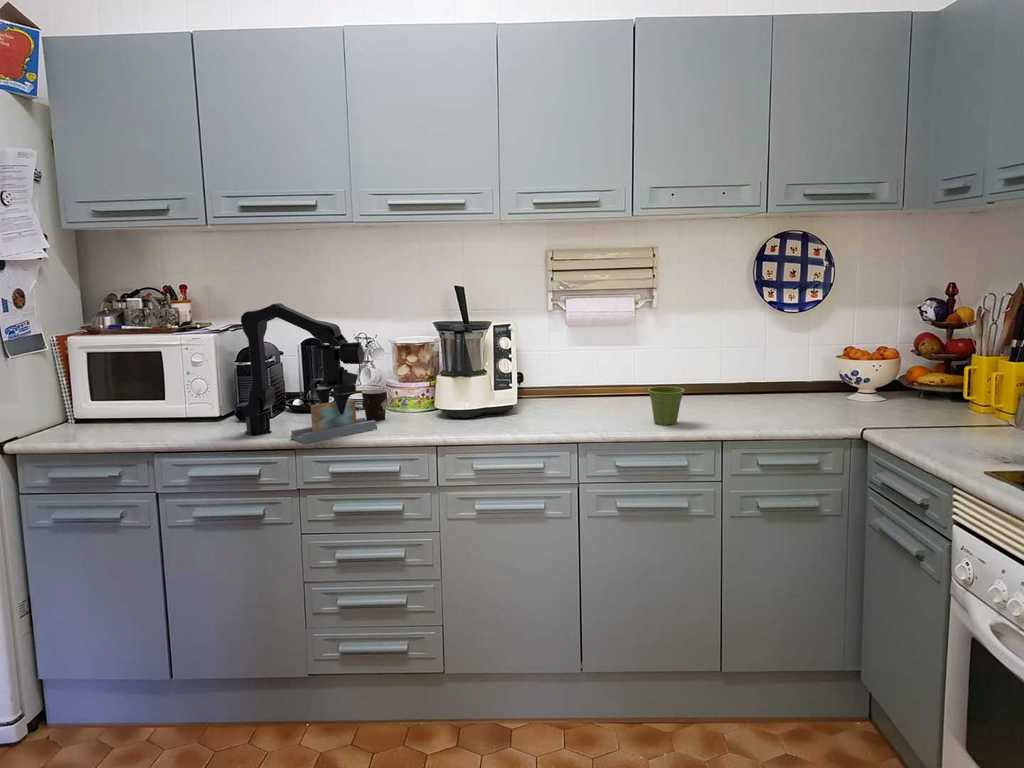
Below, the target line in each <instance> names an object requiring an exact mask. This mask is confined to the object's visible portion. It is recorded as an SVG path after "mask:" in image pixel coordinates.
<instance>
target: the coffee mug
mask: <svg viewBox="0 0 1024 768" xmlns="http://www.w3.org/2000/svg"><path fill="white" fill-rule="evenodd" d="M387 394H388V391H387V390H386V389H381V388H380V389H379V388H378V389H376V388H375V389H367V390H366V389H365V390H362V391H361V396H362V402H361V404H362V408H363V410H364V414H365V421H372V420H375V421H377V422H382V421H381V420H383V421H385V420H386V412H387V410H386V409H387V396H388V395H387Z"/></svg>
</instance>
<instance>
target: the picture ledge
mask: <svg viewBox="0 0 1024 768" xmlns="http://www.w3.org/2000/svg"><path fill="white" fill-rule="evenodd" d="M373 429H376V430H378V425H377V422H376V421H375V420H372V421H367V420H366V417H356V424H350V425H345V426H340V427H334V428H329V429H324V430H318V431H313V432H312V426H309V427H302V428H298V429H293V430H291V431H290V432H291V433H290V434H291V435H290V439H291V438H292V439H294V440H293V441H296V442H298V443H299V442H300V443H302V444H310V443H315V442H320V441H324V440H325V441H326V440H330V439H329V438H331V439H333V438H332V437H336V438H338V437H337V436H341V437H344V436H343V435H346V436H349V435H348V434H351V435H353V434H352V433H356V434H358V433H357V432H361V433H363V432H362V431H366V432H369V431H368V430H371V431H374V430H373ZM292 439H291V440H292Z"/></svg>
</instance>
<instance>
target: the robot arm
mask: <svg viewBox="0 0 1024 768" xmlns="http://www.w3.org/2000/svg"><path fill="white" fill-rule="evenodd" d="M276 318H277V319H281V320H283V321H285V322H286V323H289V324H291V325H293V326H296V327H297V328H300V329H302V330H304V331H306V332H308V333H309V334H311V336H312V337H313V338H315V339H316V340H318V341H319V342H318V344H317V345H316V346H315V347H314V349H313V350H314V351H320V354H321V367H319V368H318V369H319V371H320V372H321V373H322V377H320V378H314V379H311V380H310V382H309V388H310V389H312V392H313V393H314V395H316V397H317V400H318V401H319V404H322V403H328V402H330V393H331V392H332V390H333V395H332V396H333V399H334V401H336V404H337V407H338V410H339V413H340V414H344V411H345V407H346V403H347V400H348V399H350V397H351V395H354V394H355V392H357V381H358V376H359V375H358V374H356V373H353V372H349V371H348V369H345V367H344V366H341V363H342V364H343V365H362V364H364V361H365V355H366V354H365V351H364V348H363V346H362V342H361V341H355V342H349V341H348V340H347V338H345V336H344V335H343V333H342V330H341V328H340V326H339V325H337V324H335V323H333V322H329V321H325V320H324V321H323V320H320V319H319V320H318V319H314V318H312V317H310V316H308V315H306V314H304V313H301V312H300V311H297V310H295V309H293V308H291V307H288V306H286V305H284V304H283V303H280V302H278V303H272V304H270V305H268V306H266V307H263V308H260V309H256V310H249V311H248V310H247V311H245V312H244V313H242V315H241V317H240V323H241V327H242V331H243V333H244V334H245V336H246V338H247V340H248V341H247V343H248V353H249V363H250V364H249V365H250V374H251V386H250V389H249V392H248V401H247V404H246V405H245V406H244V407H243V408H242V410H241V413H242V416H243V418H245V425H246V427H245V428H246V430H245V431H244V433H245V434H247V435H250V436H259V435H263V434H264V435H265V434H270V433H272V430H271V423H270V422H271V421H270V419H271V418H270V417H269V414H268V413H269V412H270V411H271V408H272V406H273V405H274V404H275V400H276V398H277V396H276V395H275V394H276V393H275V391H276V388H275V386H270V384H269V382H268V373H267V361H266V360H267V359H266V350H265V340H264V339H265V335H266V332H267V328H268V322H269V321H272V320H275V319H276Z"/></svg>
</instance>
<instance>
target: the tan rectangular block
mask: <svg viewBox="0 0 1024 768" xmlns="http://www.w3.org/2000/svg"><path fill="white" fill-rule="evenodd" d="M310 416H311V417H310V418H311V427H312V432H313V431H318V430H324V429H329V428H334V427H340V426H345V425H350V424H356V419H357V412H356V400H354V399H350V398H348V400H347V403H346V407H345V411H344V414H340V413H339V410H338V407H337V404H336V401H335V400H334V401H329V402H328V403H322V404H321V403H316V404H310Z"/></svg>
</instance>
